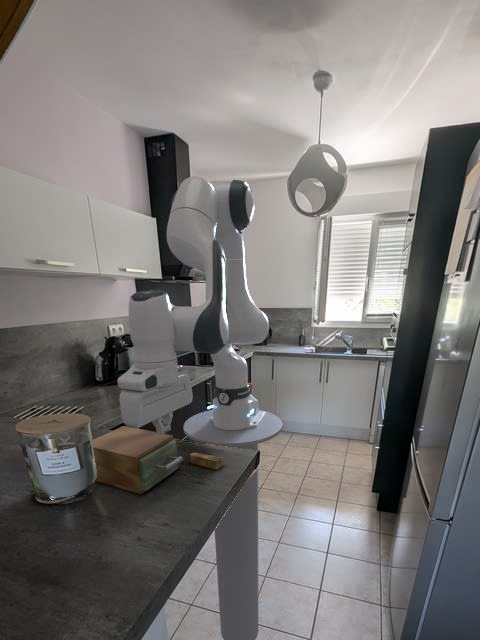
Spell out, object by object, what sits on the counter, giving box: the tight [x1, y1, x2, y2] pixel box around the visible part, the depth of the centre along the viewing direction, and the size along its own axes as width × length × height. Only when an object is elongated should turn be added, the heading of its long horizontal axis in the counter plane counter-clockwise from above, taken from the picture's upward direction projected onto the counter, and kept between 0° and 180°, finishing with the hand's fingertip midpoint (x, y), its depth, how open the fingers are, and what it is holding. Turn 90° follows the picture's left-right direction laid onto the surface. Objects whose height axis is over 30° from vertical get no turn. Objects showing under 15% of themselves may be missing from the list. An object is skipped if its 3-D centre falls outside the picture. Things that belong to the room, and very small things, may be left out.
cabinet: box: [91, 425, 174, 495], centre depth 89 cm, size 17×14×10 cm
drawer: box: [138, 439, 184, 492], centre depth 88 cm, size 20×12×8 cm, turn 64°
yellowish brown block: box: [189, 452, 222, 471], centre depth 95 cm, size 8×2×3 cm, turn 64°
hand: (163, 432), depth 81 cm, fingers closed
